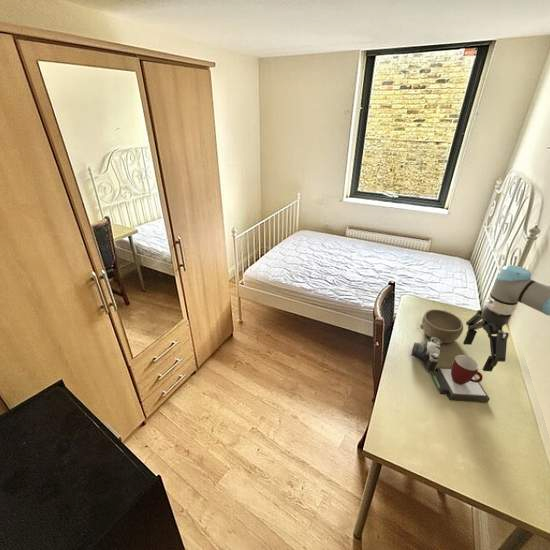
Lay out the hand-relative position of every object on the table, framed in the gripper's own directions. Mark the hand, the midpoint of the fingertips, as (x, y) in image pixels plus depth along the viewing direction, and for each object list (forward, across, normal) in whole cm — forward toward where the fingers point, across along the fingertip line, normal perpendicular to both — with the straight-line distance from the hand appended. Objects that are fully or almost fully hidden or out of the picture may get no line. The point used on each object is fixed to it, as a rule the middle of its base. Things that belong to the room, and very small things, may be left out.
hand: (476, 356), depth 108 cm
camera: (+17, -15, -10) cm, 24 cm away
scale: (+17, -1, -2) cm, 17 cm away
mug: (+14, 0, -1) cm, 14 cm away
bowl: (+17, -32, +4) cm, 36 cm away
